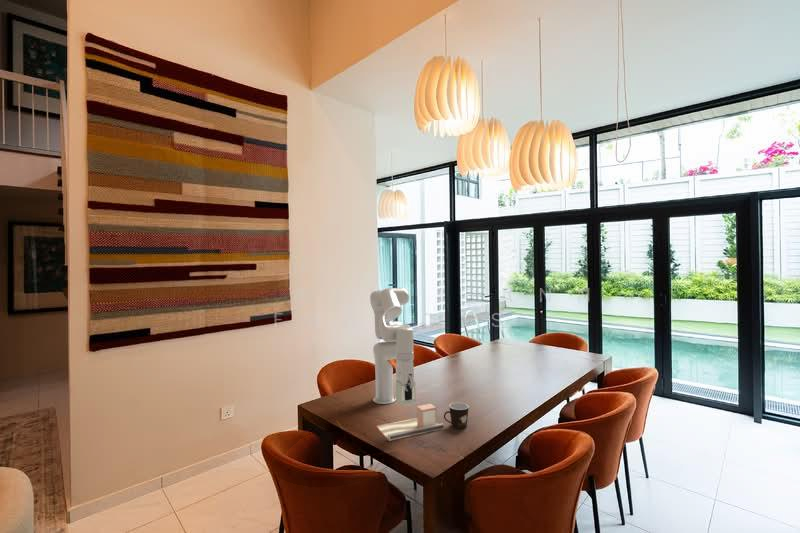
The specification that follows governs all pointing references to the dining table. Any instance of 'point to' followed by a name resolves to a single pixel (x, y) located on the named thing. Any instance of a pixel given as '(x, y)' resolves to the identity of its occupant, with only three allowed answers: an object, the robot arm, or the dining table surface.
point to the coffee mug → (458, 415)
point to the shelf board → (406, 429)
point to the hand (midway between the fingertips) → (405, 397)
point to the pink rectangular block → (426, 415)
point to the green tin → (401, 393)
